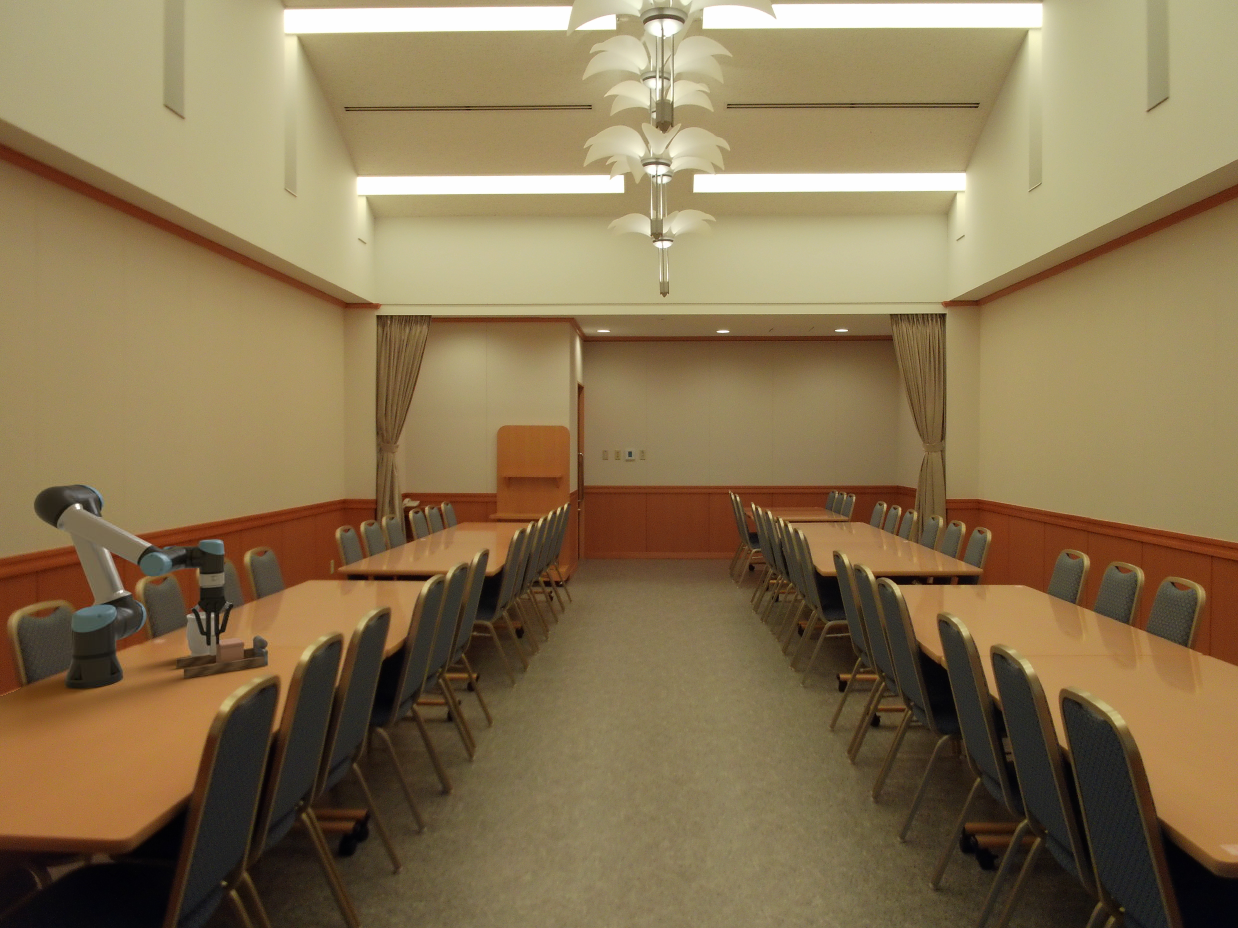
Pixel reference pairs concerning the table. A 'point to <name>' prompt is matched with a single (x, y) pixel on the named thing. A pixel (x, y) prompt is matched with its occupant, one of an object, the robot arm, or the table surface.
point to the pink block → (229, 650)
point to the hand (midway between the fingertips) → (212, 654)
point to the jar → (198, 635)
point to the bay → (256, 651)
